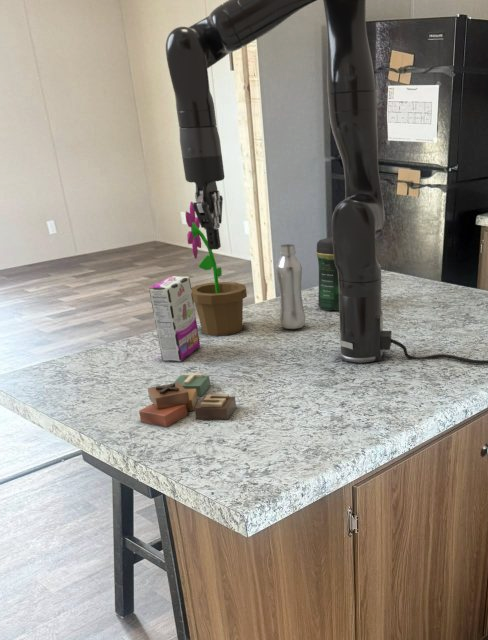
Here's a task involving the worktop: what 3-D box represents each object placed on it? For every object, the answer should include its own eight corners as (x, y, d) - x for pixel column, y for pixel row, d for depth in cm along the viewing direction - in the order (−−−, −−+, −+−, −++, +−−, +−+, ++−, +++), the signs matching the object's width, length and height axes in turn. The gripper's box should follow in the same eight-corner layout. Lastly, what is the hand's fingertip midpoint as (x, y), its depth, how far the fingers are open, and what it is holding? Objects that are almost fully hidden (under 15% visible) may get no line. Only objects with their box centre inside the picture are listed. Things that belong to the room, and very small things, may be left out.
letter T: (210, 385, 143) (208, 372, 142) (201, 396, 138) (199, 383, 137) (182, 385, 144) (180, 372, 143) (172, 395, 139) (170, 382, 137)
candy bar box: (181, 346, 167) (170, 275, 159) (201, 347, 166) (191, 276, 158) (160, 361, 157) (147, 286, 149) (181, 362, 157) (169, 287, 148)
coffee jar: (337, 313, 190) (334, 240, 181) (314, 309, 194) (310, 238, 184) (357, 305, 197) (355, 235, 188) (334, 301, 201) (331, 233, 191)
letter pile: (203, 399, 137) (200, 375, 135) (180, 427, 125) (176, 401, 123) (163, 398, 138) (158, 374, 135) (136, 426, 126) (130, 400, 124)
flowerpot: (201, 322, 185) (184, 198, 170) (255, 321, 184) (242, 197, 169) (187, 338, 173) (167, 206, 157) (245, 337, 172) (230, 205, 157)
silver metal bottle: (310, 326, 180) (305, 243, 170) (297, 333, 175) (291, 248, 164) (289, 323, 182) (282, 242, 172) (275, 330, 177) (268, 247, 167)
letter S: (236, 407, 133) (234, 393, 132) (227, 419, 128) (226, 405, 127) (205, 406, 134) (203, 392, 132) (196, 419, 129) (193, 404, 127)
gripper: (211, 155, 128) (224, 254, 137) (229, 151, 140) (240, 242, 148) (171, 156, 129) (187, 255, 138) (193, 152, 140) (206, 243, 149)
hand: (214, 248), depth 143 cm, fingers closed
